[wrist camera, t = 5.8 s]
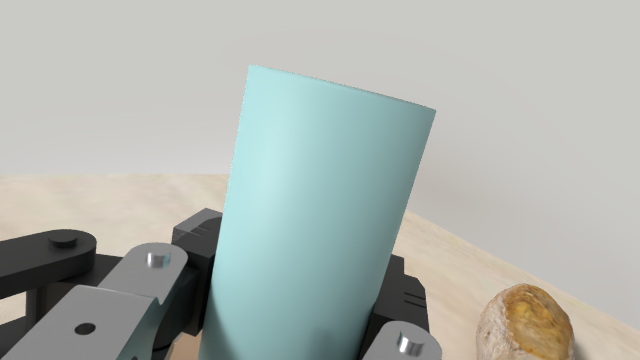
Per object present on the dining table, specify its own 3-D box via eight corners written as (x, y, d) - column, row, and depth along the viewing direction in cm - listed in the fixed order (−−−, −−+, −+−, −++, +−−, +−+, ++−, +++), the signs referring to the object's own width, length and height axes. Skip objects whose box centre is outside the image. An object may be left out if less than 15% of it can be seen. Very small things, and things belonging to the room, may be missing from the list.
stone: (565, 335, 29) (589, 284, 27) (551, 476, 17) (592, 398, 16) (492, 301, 31) (511, 253, 30) (437, 402, 20) (465, 330, 18)
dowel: (251, 451, 15) (340, 83, 11) (321, 555, 12) (470, 118, 8) (142, 518, 12) (212, 55, 8) (202, 673, 9) (347, 93, 6)
